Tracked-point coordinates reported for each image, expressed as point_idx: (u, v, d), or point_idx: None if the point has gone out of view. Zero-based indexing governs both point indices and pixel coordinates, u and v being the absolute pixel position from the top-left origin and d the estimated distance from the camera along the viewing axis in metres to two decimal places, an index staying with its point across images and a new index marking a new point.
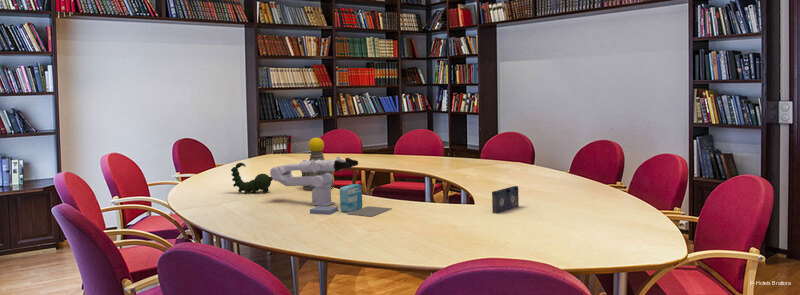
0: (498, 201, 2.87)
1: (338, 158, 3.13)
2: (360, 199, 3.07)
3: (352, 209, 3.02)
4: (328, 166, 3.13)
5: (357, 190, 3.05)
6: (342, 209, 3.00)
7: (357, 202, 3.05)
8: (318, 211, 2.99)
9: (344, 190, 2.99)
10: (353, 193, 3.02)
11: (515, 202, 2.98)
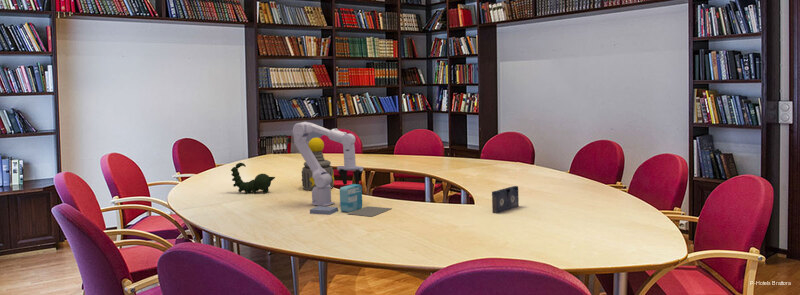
0: (498, 201, 2.87)
1: None
2: (360, 199, 3.07)
3: (352, 209, 3.02)
4: (353, 158, 3.13)
5: (357, 190, 3.05)
6: (342, 209, 3.00)
7: (357, 202, 3.05)
8: (318, 211, 2.99)
9: (344, 190, 2.99)
10: (353, 193, 3.02)
11: (515, 202, 2.98)
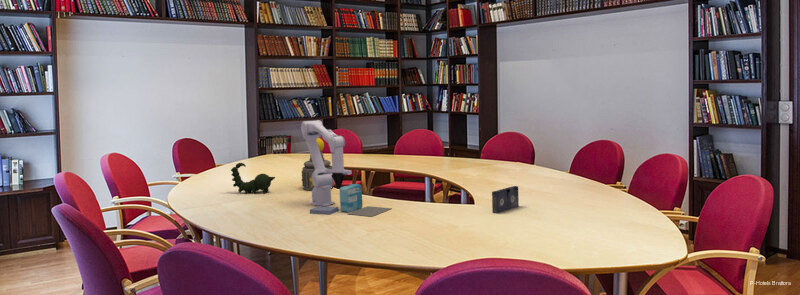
0: (498, 201, 2.87)
1: None
2: (360, 199, 3.07)
3: (352, 209, 3.02)
4: (342, 162, 3.04)
5: (357, 190, 3.05)
6: (342, 209, 3.00)
7: (357, 202, 3.05)
8: (318, 211, 2.99)
9: (344, 190, 2.99)
10: (353, 193, 3.02)
11: (515, 202, 2.98)
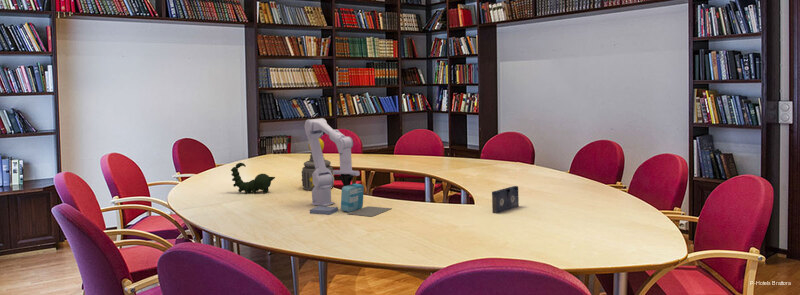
0: (498, 201, 2.87)
1: None
2: (361, 199, 3.07)
3: (352, 209, 3.02)
4: (350, 162, 3.02)
5: (359, 190, 3.04)
6: (343, 208, 3.00)
7: (358, 202, 3.05)
8: (318, 211, 2.99)
9: (346, 190, 2.98)
10: (355, 193, 3.02)
11: (515, 202, 2.98)
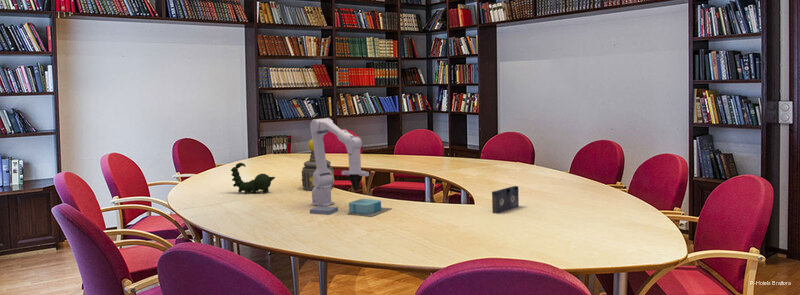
0: (498, 201, 2.87)
1: None
2: None
3: None
4: (359, 163, 2.99)
5: None
6: (349, 206, 2.98)
7: None
8: (318, 211, 2.99)
9: (365, 211, 2.93)
10: None
11: (515, 202, 2.98)
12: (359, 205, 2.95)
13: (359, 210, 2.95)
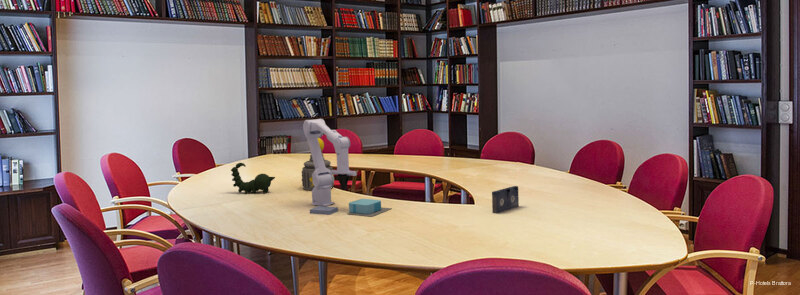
0: (498, 201, 2.87)
1: None
2: None
3: None
4: (347, 163, 3.03)
5: None
6: (349, 206, 2.98)
7: None
8: (318, 211, 2.99)
9: (365, 211, 2.93)
10: None
11: (515, 202, 2.98)
12: (359, 205, 2.95)
13: (359, 210, 2.95)
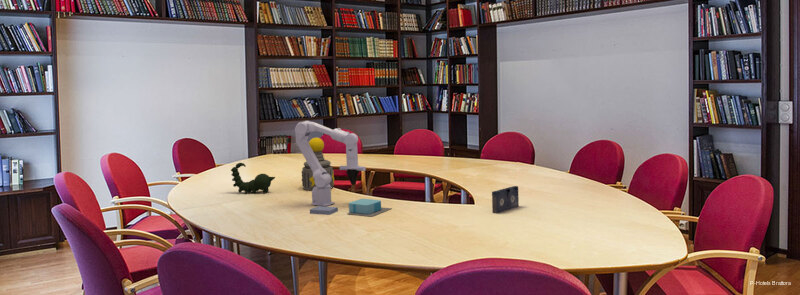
0: (498, 201, 2.87)
1: None
2: None
3: None
4: (356, 158, 3.13)
5: None
6: (349, 206, 2.98)
7: None
8: (318, 211, 2.99)
9: (365, 211, 2.93)
10: None
11: (515, 202, 2.98)
12: (359, 205, 2.95)
13: (359, 210, 2.95)
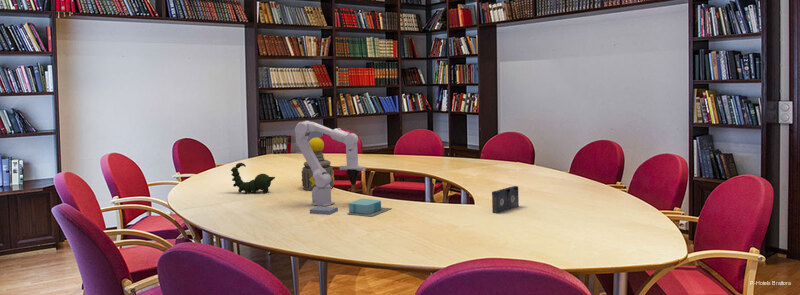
0: (498, 201, 2.87)
1: None
2: None
3: None
4: (356, 158, 3.13)
5: None
6: (349, 206, 2.98)
7: None
8: (318, 211, 2.99)
9: (365, 211, 2.93)
10: None
11: (515, 202, 2.98)
12: (359, 205, 2.95)
13: (359, 210, 2.95)
